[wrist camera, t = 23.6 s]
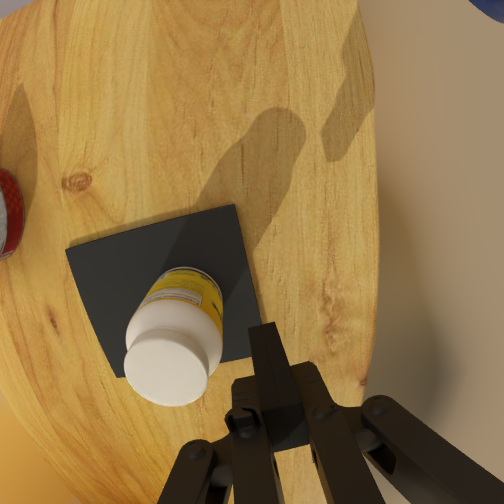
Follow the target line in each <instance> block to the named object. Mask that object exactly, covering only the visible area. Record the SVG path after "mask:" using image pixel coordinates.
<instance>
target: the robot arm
mask: <svg viewBox="0 0 504 504" xmlns="http://www.w3.org/2000/svg"><path fill="white" fill-rule="evenodd" d="M248 334H249V341H250V347H251V354H252V360H253V367H254V373H255V375H253V376H248V377H243V378H239V379H235V381H234V383H233V384H232V386H231V392H232V409H231V410H229V411H228V413H227V414H226V415H225V419H224V420H225V423H226V425H227V427H228V429H229V432H230V433H229V434H228V435H226V436H225V437H224V438H222V439H220V440H218V441H215V442H212V443H210V442H208V441H207V440H202V439H197V440H192V441H190V442H188V443H186V444H185V445H183V447H182V448H181V450H180V452H179V454H178V456H177V459H176V461H175V463H174V466H173V468H172V470H171V472H170V475H169V477H168V479H167V482H166V484H165V486H164V489H163V491H162V493H161V495H160V498H159V500H158V502H157V504H228V500H229V496H230V492H231V488H232V484H233V490H234V504H285V501H284V496H283V491H282V487H281V482H280V477H279V472H278V467H277V462H276V459H275V456H274V452H279V451H283V450H288V449H292V448H296V447H300V446H304V445H308V444H309V443H310V447H311V452H312V459H313V463H315V466H316V469H317V472H318V475H319V478H320V482H321V485H322V488H323V491H324V494H325V497H326V501H327V504H386V503H385V501H384V499H383V497H382V495H381V493H380V491H379V489H378V486H377V484H376V482H375V480H374V478H373V476H372V474H371V472H370V469H369V467H368V465H367V463H366V461H365V459H364V457H363V455H364V456H365V457H366V458H367V459H368V460H369V461H370V462H371V463H372V464H373V465H374V466H375V468H376V469H377V470H378V471H379V472H380V473H381V474H382V475H383V476H384V477H385V478H386V479H387V480H388V481H389V482H390V483H391V484H392V485H393V486H394V487H395V488H396V489H397V490H398V491H399V492H400V493H401V494H402V495H403V496H404V497H405V498H406V499H407V500H408V501H409V502H410V503H411V504H504V483H503V482H502V481H501V480H499V479H498V478H496V477H495V476H494V475H492V474H491V473H490V472H488V471H487V470H485V469H484V468H483V467H481V466H480V465H478V464H477V463H476V462H474V461H473V460H472V459H470V458H469V457H468V456H466V455H465V454H464V453H462V452H461V451H460V450H458V449H457V448H456V447H454V446H453V445H451V444H450V443H449V442H448V441H446V440H445V439H444V438H442V437H441V436H440V435H438V434H437V433H436V432H434V431H433V430H432V429H431V428H429V427H428V426H427V425H425V424H424V423H423V422H422V421H420V420H419V419H418V418H416V417H415V416H414V415H412V414H411V413H410V412H409V411H407V410H406V409H405V408H403V407H402V406H401V405H400V404H398V403H397V402H396V401H395V400H393V399H392V398H390V397H388V396H384V395H376V396H372V397H370V398H368V399H367V400H366V401H364V403H363V404H362V406H359V407H343V406H340V405H337V404H336V403H335V402H334V401H333V400H332V398H331V396H330V394H329V392H328V389H327V387H326V385H325V383H324V381H323V380H322V377H321V375H320V373H319V371H318V368H317V366H316V365H314V364H313V363H311V362H310V361H307V362H303V363H300V364H296V365H292V366H290V365H289V362H288V359H287V356H286V353H285V350H284V348H283V345H282V342H281V339H280V336H279V333H278V330H277V327H276V324H275V322H271V323H267V324H263V325H258V326H254V327H250V328H248ZM361 452H362V453H361ZM362 454H363V455H362Z"/></svg>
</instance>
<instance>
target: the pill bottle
mask: <svg viewBox="0 0 504 504" xmlns="http://www.w3.org/2000/svg"><path fill="white" fill-rule="evenodd" d="M222 324H223V301H222V295H221V292H220V289H219V287H218V285H217V284H216V282H215V281H214V280H213V279H212V278H211V277H210V276H209V275H208V274H206V273H205V272H203V271H201V270H198V269H195V268H191V267H178V268H174V269H171V270H169V271H167V272H165V273H164V274H162V275H161V276H160V277H159V278H158V280H157V281H156V282H155V283H154V285H153V286H152V288H151V289H150V291H149V292H148V294H147V295H146V297H145V298H144V300H143V301H142V303H141V304H140V306H139V307H138V309H137V310H136V312H135V314H134V315H133V317H132V318H131V320H130V323H129V325H128V328H127V332H126V346H127V351H128V352H127V354H126V356H125V360H124V371H125V375H126V378H127V380H128V382H129V383H130V385H131V386H132V387H133V389H134V390H135V391H136V392H137V393H138V394H140V395H141V396H142V397H144V398H145V399H147V400H149V401H151V402H153V403H156V404H159V405H164V406H182V405H186V404H189V403H192V402H193V401H195V400H197V399H198V398H199V397H200V396H201V395H202V394H203V393H204V391H205V389H206V387H207V384H208V378H209V376H210V375H211V374H212V373H213V372H214V371H215V369H216V368H217V366H218V364H219V362H220V359H221V355H222V346H223V339H222V333H223V332H222V329H223V325H222Z"/></svg>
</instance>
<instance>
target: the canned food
mask: <svg viewBox="0 0 504 504" xmlns="http://www.w3.org/2000/svg"><path fill="white" fill-rule="evenodd" d="M23 229H24V205H23V199H22V195H21V191H20V189H19V186H18V184H17V182H16V181H15V179H14V178H13V176H12V175H11V174H10V173H9V172H8V171H6V170H4V169H2V168H0V261H1V260H3V259H6V258H8V257H9V256H11V255H12V254H13V253H14V252H15V250H16V248H17V247H18V245H19V243H20V240H21V237H22V233H23Z"/></svg>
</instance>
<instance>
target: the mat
mask: <svg viewBox="0 0 504 504" xmlns="http://www.w3.org/2000/svg"><path fill="white" fill-rule="evenodd" d="M65 252H66V255H67V258H68V261H69V265H70V268H71V271H72V274H73V277H74V280H75V283H76V285H77V288H78V291H79V294H80V296H81V299H82V302H83V304H84V307H85V309H86V312H87V314H88V317H89V319H90V322H91V324H92V326H93V329H94V331H95V333H96V336H97V338H98V340H99V342H100V345H101V347H102V349H103V351H104V353H105V355H106V357H107V359H108V361H109V363H110V366H111V368H112V369H113V371H114V373H115V375H116V377H117V378H120V377H126V375H125V371H124V360H125V356H126V354H127V352H128V351H127V346H126V332H127V328H128V325H129V323H130V320H131V318H132V317H133V315H134V314H135V312H136V310H137V309H138V307H139V306H140V304H141V303H142V301H143V300H144V298H145V297H146V295H147V294H148V292H149V291H150V289H151V288H152V286H153V285H154V283H155V282H156V281H157V280H158V278H159V277H160V276H161V275H162V274H164V273H165V272H167V271H169V270H171V269H174V268H178V267H191V268H195V269H198V270H201V271H203V272H205V273H206V274H208V275H209V276H210V277H211V278H212V279H213V280H214V281H215V282H216V284H217V285H218V287H219V289H220V292H221V295H222V301H223V324H222V325H223V329H222V332H223V333H222V339H223V346H222V355H221V359H220V362H219V363H223V362H228V361H233V360H238V359H243V358H248V357H252V354H251V347H250V341H249V334H248V328H250V327H254V326H258V325H262V322H261V318H260V313H259V309H258V305H257V300H256V296H255V292H254V287H253V283H252V279H251V274H250V270H249V265H248V261H247V257H246V252H245V248H244V244H243V239H242V235H241V230H240V226H239V221H238V217H237V213H236V208H235V204H231V205H227V206H223V207H219V208H214V209H210V210H206V211H202V212H198V213H194V214H190V215H186V216H182V217H178V218H174V219H170V220H166V221H162V222H158V223H154V224H151V225H147V226H143V227H140V228H136V229H132V230H129V231H125V232H122V233H118V234H114V235H111V236H108V237H104V238H101V239H97V240H94V241H91V242H87V243H84V244H81V245H77V246H74V247H71V248H68V249H66V250H65Z"/></svg>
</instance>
